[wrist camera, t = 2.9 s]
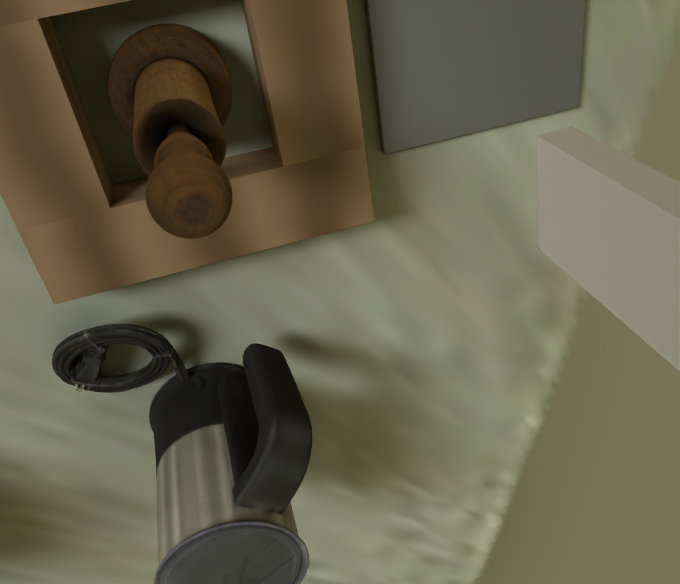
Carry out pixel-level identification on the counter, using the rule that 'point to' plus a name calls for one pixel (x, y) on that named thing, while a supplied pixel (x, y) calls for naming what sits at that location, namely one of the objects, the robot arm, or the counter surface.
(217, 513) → the milk frother
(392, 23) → the mat
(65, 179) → the collar block
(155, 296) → the counter surface
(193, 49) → the wooden pepper mill
